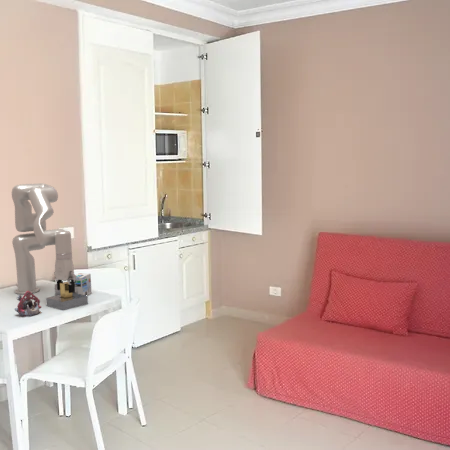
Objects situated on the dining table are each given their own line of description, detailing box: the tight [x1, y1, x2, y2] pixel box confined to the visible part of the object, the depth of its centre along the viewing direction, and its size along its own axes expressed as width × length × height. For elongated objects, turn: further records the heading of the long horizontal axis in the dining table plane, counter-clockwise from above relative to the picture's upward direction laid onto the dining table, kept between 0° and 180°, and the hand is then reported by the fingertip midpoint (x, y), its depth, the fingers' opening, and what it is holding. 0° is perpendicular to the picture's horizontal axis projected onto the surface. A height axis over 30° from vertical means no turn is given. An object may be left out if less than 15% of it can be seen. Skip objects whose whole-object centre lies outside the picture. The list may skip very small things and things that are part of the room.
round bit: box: [54, 283, 61, 296], centre depth 290 cm, size 6×6×6 cm
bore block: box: [45, 293, 89, 311], centre depth 271 cm, size 14×14×4 cm
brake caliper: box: [14, 291, 42, 317], centre depth 257 cm, size 11×11×12 cm
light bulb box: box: [72, 273, 93, 296], centre depth 290 cm, size 11×7×11 cm, turn 168°
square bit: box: [60, 281, 73, 299], centre depth 271 cm, size 4×4×11 cm
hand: (66, 290), depth 271 cm, fingers open, 9 cm apart
